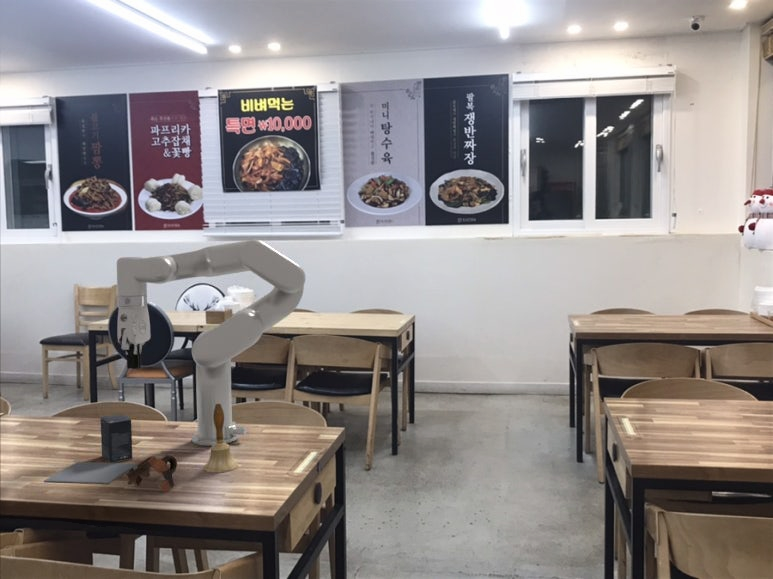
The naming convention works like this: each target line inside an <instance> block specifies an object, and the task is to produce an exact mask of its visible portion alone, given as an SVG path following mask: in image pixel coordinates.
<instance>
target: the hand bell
mask: <svg viewBox="0 0 773 579" xmlns="http://www.w3.org/2000/svg"><path fill="white" fill-rule="evenodd" d="M213 419H214V424H215V427H216V437H217V438H216V440H217V443H216V444H215V445H213V446H211V447H210V454H209V459H208V460H207V462H206V463H205V465H203V466H204V467H203V470H204V471H205V472H206V473H210V474H222V473H223V474H224V473H228V472H231V471H234V470H236V469H237V468H238V466H239V464H238V462H237V461H236V460H235V459H234V458H233V456H232V453H231V448H230V445H229V443H227V444H226V443H224V440H223V424H224V412H223V409H222V407H221V404H216V405H215V410H214V414H213Z"/></svg>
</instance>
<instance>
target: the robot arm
mask: <svg viewBox="0 0 773 579" xmlns="http://www.w3.org/2000/svg"><path fill="white" fill-rule="evenodd" d="M243 272H251V273H253V274H255V275H256V276H258V277H259V278H260V279H262V280H264V281H266V282H267V283H268V284H271V285H272V286H273V288H272V289H271V290H270V292H267V294H265V295H264V296H262V297H261V298H259V299H258V300H257V301H255V302H253V303H251V304H250V305H248V306H246V307H244V308H243V309H241V310H240V309H239V310H238V311H236V312H235V313H233V315H231V317H229V318H227V319H225V320H224V321H223V322H221V323H219V324H218V325H216V326H215V327H213V328H209V329H205V330H203V331H202V332H201V333H200V334H199V335H198V336H197V337H196V339H195V340H194V341H193V343H192V345H191V346H192V347H191V355H192V356H191V357H192V358H193V361H194V362H195V381H196V382H195V384H196V386H195V387H196V389H195V390H196V414H197V416H196V417H197V418H196V420H197V421H196V422H197V423H196V424H197V426H196V427H197V432H196V433H195V434H193V436H192V437H191V442H192V443H193V444H195V445H199V446H206V447H207V446H209V447H210V446H211V447H212V446H213V445H215V444H216V443H217V440H216V438H217V437H216V427H215V424H214V419H213V414H214V410H215V405H216V404H221V407H222V409H223V412H224V424H223V440H224V443H226V444H230V443H233V442H235V441H237V440H238V438H239V436H245V435H246V434H247V428H246V427H245V426H238V425H236V421H233V416H232V415H233V412H232V408H233V407H232V361H231V360H232V359H233V358H235V357H236V356H238V355H240V354H242V353H243V352H245V351H246V350H247V349H250V348H251V347H252V346H254V345H255V344H256V343H257V342H258V341H259V340H260V338H261V337H262V335H263V333H265V332H266V331H268V330H269V329H271V328H272V327H274V326H276V325H277V324H278V323H280V322H281V321H282V320H284V319H285V318H287V317H288V316H290V315H291V314H292V313H293V311H295V310H296V309H297V307H298V305H299V304H300V302H301V300H302V297H303V294H304V289H305V283H306V272H305V271H304V268H302V266H301V265H299V264H298V263H296V262H294V261H293V260H291V259H290V258H288V257H287V256H285V255H283V254H281V253H280V252H279V251H277V250H275V249H274V248H273V247H271V246H270V245H269V244H267V243H266V242H264V241H263V240H260V239H255V238H253V239H250V240H243V241H236V242H230V243H224V244H218V245H212V246H211V245H210V246H207V247H206V246H205V247H203V248H201V249H198V250H193V251H189V252H181V253H175V254H168V255H158V256H157V255H156V256H153V257H151V256H150V257H141V256H125V257H124V256H122V257H119V258H118V259H117V261H116V282H117V283H116V284H117V285H116V288H117V289H116V292H117V308H118V310H117V312H118V313H117V342H118V343H119V345H121V347H120V348H121V350H123V351H124V350H125V355H126V367H127V369H129V370H130V369H132V370H134V369H135V370H138V369H141V367H142V349H143V346H144V345H145V344H146V342H148V341H149V340H150V339H151V338H152V337H151V336H152V335H151V323H150V322H151V321H150V313H149V309H148V290H147V288H148V286H147V285H148V284H156V285H157V284H158V285H161V284H166V283H170V282H173V281H180V280H186V279H192V278H199V277H200V278H201V277H205V278H214V277H219V276H220V277H221V276H226V275H231V274H237V273H238V274H239V273H243ZM232 441H233V442H232Z"/></svg>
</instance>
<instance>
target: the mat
mask: <svg viewBox="0 0 773 579" xmlns="http://www.w3.org/2000/svg"><path fill="white" fill-rule="evenodd" d="M137 465H138V464H137V463H126V462H124V463H123V462H119V463H118V462H113V463H110V462H95V461H93V462H89V461H88V462H87V461H76V462H74V463H73V464H70V465H69V466H67V467H66V468H64V469H62V470H61V471H59V472H56V473H55V474H53V475H52V476H50V477H48V478H46V479H44V480H43V482H44V483H64V484H65V483H68V484H70V483H71V484H95V485H96V484H101V485H102V484H103V485H104V484H105V485H109V484H111V483H112V482H114V481H116V480H117V479H119V477H121V476H122V475H124V474H126V473H128V472H129V471H130V470H131V469H132V468H134V467H135V466H136V467H137Z"/></svg>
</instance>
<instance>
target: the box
mask: <svg viewBox="0 0 773 579" xmlns="http://www.w3.org/2000/svg"><path fill="white" fill-rule="evenodd" d="M132 428H133V427H132V419H131V418H129V417H128V416H126V415H125V414H122V413H119V414H112V415H107V416H101V417H100V435H101V436H100V437H101V438H100V439H101V457H102V458H104V459H105V460H106V461H108V463H118V462H119V463H120V462H124V461H128V460H132V459H133V440H132V439H133V436H132V435H133V434H132V433H133V432H132Z"/></svg>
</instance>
